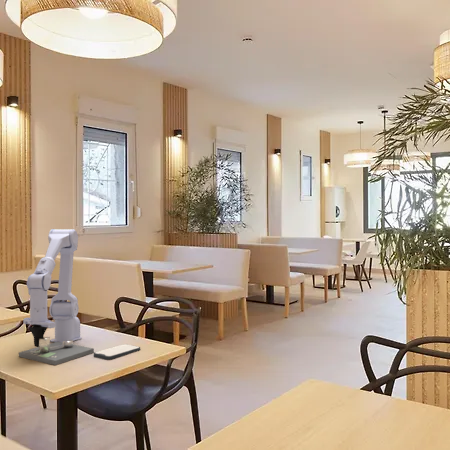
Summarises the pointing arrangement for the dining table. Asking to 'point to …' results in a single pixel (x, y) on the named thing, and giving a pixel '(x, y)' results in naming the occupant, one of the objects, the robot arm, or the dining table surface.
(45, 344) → the lever
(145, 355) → the dining table surface
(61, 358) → the dial board
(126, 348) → the phone case
